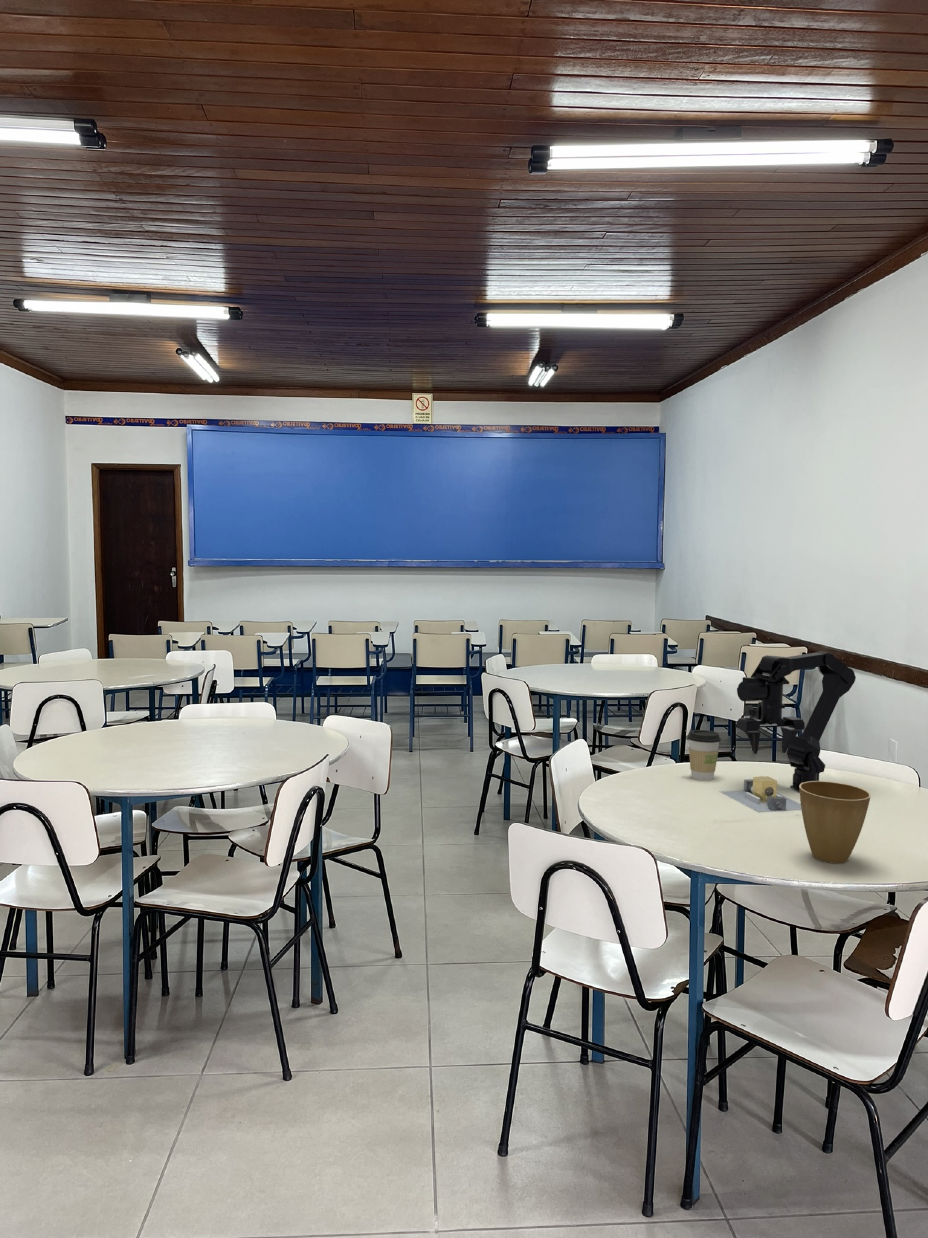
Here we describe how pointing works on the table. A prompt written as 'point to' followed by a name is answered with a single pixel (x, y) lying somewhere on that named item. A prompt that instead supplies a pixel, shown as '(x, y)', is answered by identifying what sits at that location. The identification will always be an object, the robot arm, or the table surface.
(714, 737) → the coffee cup
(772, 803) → the shaft
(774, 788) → the block
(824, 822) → the plant pot
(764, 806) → the grey base plate
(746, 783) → the shaft
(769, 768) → the table surface
